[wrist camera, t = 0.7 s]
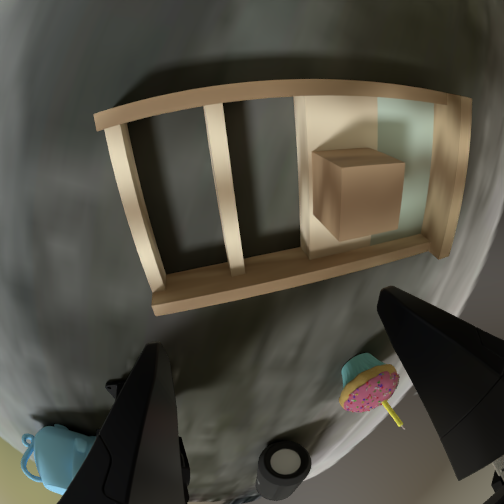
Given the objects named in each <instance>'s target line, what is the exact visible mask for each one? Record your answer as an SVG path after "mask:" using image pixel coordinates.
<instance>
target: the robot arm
mask: <svg viewBox="0 0 504 504" xmlns="http://www.w3.org/2000/svg"><path fill="white" fill-rule="evenodd" d="M377 311H378V314H379V316H380V319H381V321H382V323H383V325H384V327H385V330H386V332H387V334H388V337H389V339H390V341H391V343H392V346H393V348H394V350H395V352H396V353H397V355H398V357H399V359H400V361H401V362H402V364H403V366H404V368H405V370H406V372H407V373H408V375H409V377H410V379H411V381H412V383H413V385H414V386H415V389H416V390H417V392H418V394H419V396H420V398H421V400H422V402H423V404H424V406H425V408H426V410H427V412H428V414H429V416H430V418H431V420H432V422H433V425H434V427H435V429H436V431H437V433H438V435H439V437H440V438H441V439H440V440H441V442H442V444H443V447H444V449H445V451H446V453H447V455H448V458H449V460H450V462H451V465H452V467H453V470H454V472H455V474H456V477H457V479H458V481H460V480H462V479H464V478H466V477H468V476H470V475H471V474H473V473H475V472H477V471H478V470H480V469H482V468H484V467H485V466H487V465H488V464H490V463H492V464H493V466H494V468H495V472H494V477H493V481H492V487H493V489H494V491H495V494H493V496H491V497H490V498H489V499H488V500H487V501H486V502H484V503H483V504H504V340H502V339H500V338H498V337H495V336H493V335H491V334H489V333H487V332H485V331H483V330H481V329H479V328H477V327H475V326H473V325H472V324H469V323H467V322H466V321H464V320H462V319H460V318H458V317H456V316H454V315H452V314H450V313H448V312H446V311H444V310H442V309H440V308H438V307H436V306H434V305H432V304H430V303H428V302H426V301H423V300H421V299H419V298H417V297H415V296H413V295H411V294H409V293H407V292H405V291H403V290H401V289H399V288H397V287H394V286H388V287H385V288H383V289H382V290H381V291H380V295H379V300H378V304H377ZM105 388H106V389H107V390H108V391H109V392H110V394H111V395H112V396H113V397H114V398H115V403H114V405H113V406H112V408H111V410H110V412H109V414H108V416H107V418H106V420H105V422H104V424H103V426H102V428H101V429H97V432H96V440H95V442H94V444H93V446H92V447H91V449H90V451H89V453H88V455H87V457H86V459H85V460H84V462H83V464H82V465H81V467H80V469H79V470H78V472H77V474H76V475H75V477H74V478H73V480H72V482H71V483H70V485H69V486H68V488H67V490H66V491H65V493H64V494H63V496H62V497H61V499H60V501H59V502H58V503H57V504H187V502H188V500H189V494H188V489H187V487H188V485H189V482H190V467H189V463H188V459H187V456H186V452H185V449H184V445H183V442H182V438H181V437H178V420H177V406H176V399H175V393H174V387H173V380H172V373H171V366H170V361H169V358H168V356H167V354H166V352H165V350H164V348H163V346H162V344H161V343H160V342H151V343H148V344H146V346H145V348H144V349H143V351H142V353H141V355H140V356H139V358H138V360H137V362H136V364H135V365H134V367H133V369H132V371H131V373H130V375H129V376H128V378H127V380H126V381H121V382H111V383H106V386H105Z"/></svg>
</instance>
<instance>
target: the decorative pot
mask: <svg viewBox="0 0 504 504" xmlns="http://www.w3.org/2000/svg"><path fill="white" fill-rule="evenodd" d="M26 439H30V440H31V444H28V443H27V442H26ZM95 440H96V436H86V435H83V434H80V433H77V432H73V431H70V430H68V428H66V427H65V426H63V425H60V424H54V427H53V426H45V427H43V428H42V429H41V430H40V431H39V432H38V433H37V434H36V435H35V437H34V436H33V435H31V434H24V435H23V436H22V443H23V444H24V445H25V446H26V447H28V449H27V450H26V452H25V453H24V455H23V457H22V460H21V468H22V470H23V472H24V473H25V475H26V476H28V477H29V478H30V479H32V480H33V481H36V482H43V485H44V486H45V488H47V489H48V490H51V491H53V492H56V493H58V494H61V495H63V494H64V493H65V491H66V490H67V488H68V486H69V485H70V483H71V482H72V480H73V478H74V477H75V475H76V474H77V472H78V470H79V469H80V467H81V465H82V464H83V462H84V460H85V459H86V457H87V455H88V453H89V451H90V449H91V447H92V446H93V444H94V442H95ZM33 451H34V458H35V463H36V466H37V469H38V472H39V475H40V477H37V476H34V475H32V474H30V473H29V472H28V470H27V468H26V464H27V461H28V459H29V457H30V455H31V454H32V452H33Z"/></svg>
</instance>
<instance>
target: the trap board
mask: <svg viewBox="0 0 504 504" xmlns="http://www.w3.org/2000/svg"><path fill="white" fill-rule="evenodd" d="M290 96H293V99H294V111H295V125H296V141H297V158H298V179H299V205H300V247H297V248H293V249H288V250H283V251H278V252H274V253H269V254H264V255H259V256H254V257H249V258H245V259H243V253H242V246H241V239H240V231H239V224H238V217H237V210H236V202H235V195H234V188H233V180H232V173H231V165H230V158H229V150H228V142H227V135H226V127H225V119H224V111H223V103H226V102H234V101H242V100H251V99H262V98H274V97H290ZM200 106H203V108H204V115H205V122H206V129H207V136H208V143H209V149H210V156H211V163H212V169H213V175H214V182H215V188H216V194H217V201H218V207H219V213H220V219H221V225H222V231H223V236H224V242H225V248H226V254H227V259H228V262H225V263H220V264H215V265H211V266H206V267H201V268H196V269H191V270H186V271H181V272H176V273H171V274H167V275H166V273H165V270H164V267H163V263H162V260H161V257H160V254H159V250H158V247H157V244H156V240H155V237H154V234H153V230H152V227H151V223H150V220H149V216H148V212H147V208H146V205H145V201H144V197H143V193H142V189H141V185H140V181H139V177H138V173H137V168H136V164H135V160H134V155H133V150H132V146H131V141H130V136H129V131H128V126H127V122H131V121H135V120H138V119H142V118H146V117H151V116H155V115H159V114H164V113H168V112H173V111H178V110H183V109H188V108H194V107H200ZM471 118H472V99H471V98H467V97H464V96H459V95H454V94H449V93H444V92H439V91H434V90H429V89H423V88H417V87H411V86H404V85H397V84H389V83H380V82H369V81H356V80H337V79H287V80H267V81H254V82H243V83H234V84H225V85H218V86H210V87H204V88H198V89H192V90H186V91H181V92H176V93H171V94H166V95H161V96H157V97H152V98H148V99H144V100H140V101H136V102H133V103H129V104H125V105H122V106H118V107H115V108H111V109H108V110H105V111H102V112H99V113H96V114H94V119H95V124H96V129H97V131H100V130H103V129H104V130H105V135H106V139H107V144H108V148H109V153H110V157H111V161H112V165H113V169H114V173H115V177H116V181H117V185H118V189H119V192H120V196H121V199H122V203H123V206H124V210H125V213H126V217H127V220H128V223H129V226H130V230H131V233H132V236H133V239H134V242H135V245H136V248H137V251H138V254H139V257H140V260H141V262H142V265H143V268H144V271H145V274H146V276H147V279H148V282H149V284H150V287H151V290H152V292H153V295H152V308H153V311H154V313H155V315H156V316H160V315H165V314H171V313H176V312H181V311H186V310H191V309H197V308H202V307H206V306H211V305H216V304H221V303H226V302H231V301H235V300H240V299H244V298H249V297H254V296H258V295H262V294H267V293H271V292H276V291H280V290H284V289H288V288H293V287H297V286H301V285H305V284H309V283H313V282H317V281H321V280H325V279H329V278H333V277H337V276H341V275H345V274H348V273H352V272H356V271H360V270H363V269H367V268H371V267H374V266H378V265H382V264H385V263H389V262H392V261H396V260H399V259H403V258H406V257H410V256H413V255H417V254H420V253H423V252H427V251H429V252H430V253H432V254H433V255H434V256H435V257H436V258H437V259H442V258H445V257H447V256H449V254H450V250H451V247H452V243H453V239H454V235H455V231H456V227H457V222H458V218H459V213H460V208H461V203H462V198H463V192H464V186H465V180H466V173H467V166H468V157H469V148H470V136H471ZM352 148H372V149H374V150H377V151H379V152H382V153H384V154H386V155H389V156H391V157H393V158H396V159H398V160H400V161H403V162H405V172H404V183H403V193H402V202H401V210H400V217H399V224H398V229H396V230H392V231H387V232H383V233H378V234H374V235H369V236H365V237H360V238H355V239H351V240H346V241H341V242H339V241H338V240H337V239H336V238H335V237H334V236H333V235H332V234H331V233H330V232H329V231H328V230H327V229H326V228H325V227H324V225H323V224H322V223H321V222H320V221H319V220H318V219H317V218H316V217H315V216H314V215H313V182H312V152H315V151H326V150H338V149H352Z"/></svg>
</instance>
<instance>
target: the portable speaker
mask: <svg viewBox="0 0 504 504" xmlns="http://www.w3.org/2000/svg"><path fill="white" fill-rule="evenodd" d="M310 469H311V458H310V455H309V453H308V452H307V450H306V449H305V448H304V447H303V446H301V445H300V444H298V443H296V442H292V441H281V442H276V443H273V444H271V445H269V446H268V447H267V448H265V449H264V450H263V452H262V453H261V455H260V457H259V461H258V471H257V479H256V489H257V491H258V493H259V494H260V495H261V496H262V497H264V498H266V499H269V500H274V501H275V500H276V501H278V500H282V499H285V498H287V497H289V496H290V495H291V494H292V493H293V492H294V491H295V490H296V488H297V487H298V486H299V485H300V484H301V483H302V481H303V480H304V479H305V478H306V476H307V475H308V474H309V472H310Z"/></svg>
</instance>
